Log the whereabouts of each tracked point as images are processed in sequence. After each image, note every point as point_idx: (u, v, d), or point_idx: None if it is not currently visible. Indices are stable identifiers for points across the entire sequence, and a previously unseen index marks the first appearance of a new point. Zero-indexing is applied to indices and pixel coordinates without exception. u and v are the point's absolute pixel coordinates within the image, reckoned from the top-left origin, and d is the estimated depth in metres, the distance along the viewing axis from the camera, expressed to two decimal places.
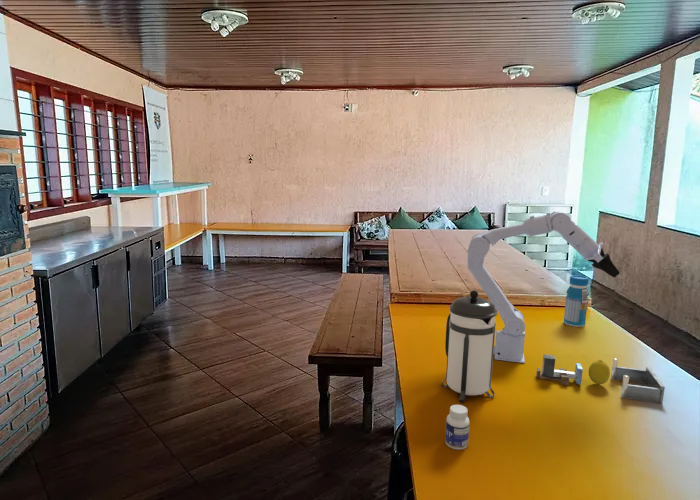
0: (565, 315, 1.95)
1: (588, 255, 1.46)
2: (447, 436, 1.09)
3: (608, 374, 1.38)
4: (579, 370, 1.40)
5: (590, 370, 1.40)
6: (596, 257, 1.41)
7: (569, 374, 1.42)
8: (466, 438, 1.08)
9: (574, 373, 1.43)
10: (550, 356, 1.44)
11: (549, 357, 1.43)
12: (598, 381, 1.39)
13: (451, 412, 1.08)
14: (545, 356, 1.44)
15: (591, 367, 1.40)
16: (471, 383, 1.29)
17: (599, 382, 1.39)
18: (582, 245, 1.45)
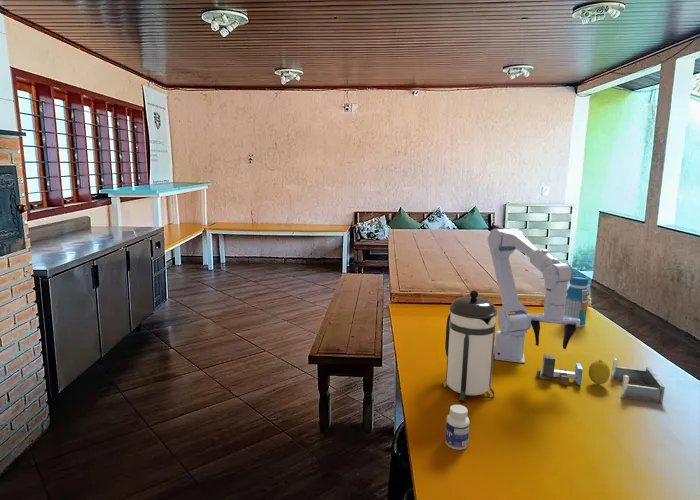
0: (565, 315, 1.95)
1: None
2: (447, 436, 1.09)
3: (608, 374, 1.38)
4: (579, 370, 1.40)
5: (590, 370, 1.40)
6: (527, 315, 1.44)
7: (569, 374, 1.42)
8: (466, 438, 1.08)
9: (574, 373, 1.43)
10: (550, 356, 1.44)
11: (549, 357, 1.43)
12: (598, 381, 1.39)
13: (451, 412, 1.08)
14: (545, 356, 1.44)
15: (591, 367, 1.40)
16: (471, 383, 1.29)
17: (599, 382, 1.39)
18: (544, 303, 1.42)
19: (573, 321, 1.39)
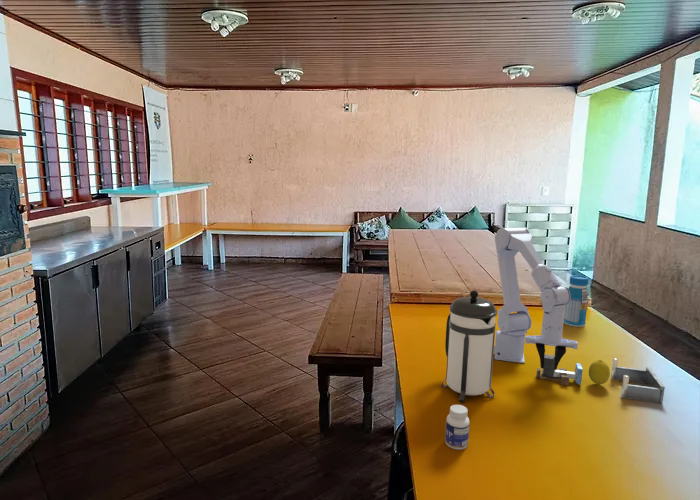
0: (565, 315, 1.95)
1: None
2: (447, 436, 1.09)
3: (608, 374, 1.38)
4: (579, 370, 1.40)
5: (590, 370, 1.40)
6: (525, 337, 1.45)
7: (569, 374, 1.42)
8: (466, 438, 1.08)
9: (574, 373, 1.43)
10: (550, 356, 1.44)
11: (549, 357, 1.43)
12: (598, 381, 1.39)
13: (451, 412, 1.08)
14: (545, 356, 1.44)
15: (591, 367, 1.40)
16: (471, 383, 1.29)
17: (599, 382, 1.39)
18: (542, 325, 1.44)
19: (570, 344, 1.40)
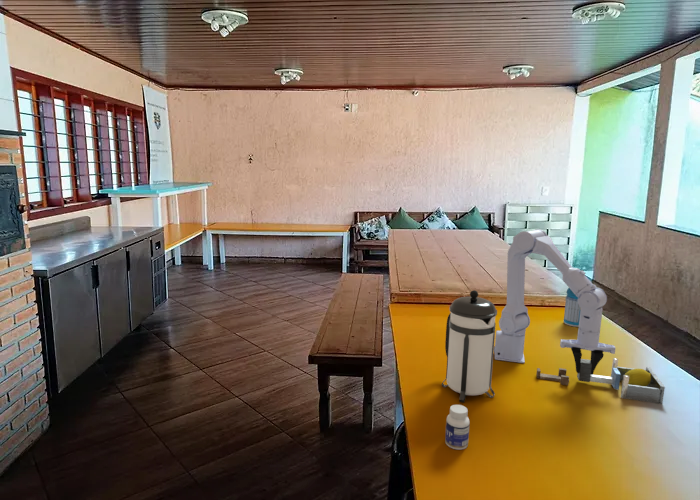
0: (565, 315, 1.95)
1: None
2: (447, 436, 1.09)
3: None
4: (617, 375, 1.37)
5: (636, 371, 1.37)
6: (560, 341, 1.43)
7: (606, 379, 1.40)
8: (466, 438, 1.08)
9: (611, 378, 1.40)
10: (587, 361, 1.41)
11: (585, 362, 1.41)
12: (632, 383, 1.36)
13: (451, 412, 1.08)
14: (581, 360, 1.41)
15: (639, 370, 1.37)
16: (471, 383, 1.29)
17: (631, 384, 1.37)
18: (578, 329, 1.41)
19: (608, 348, 1.38)
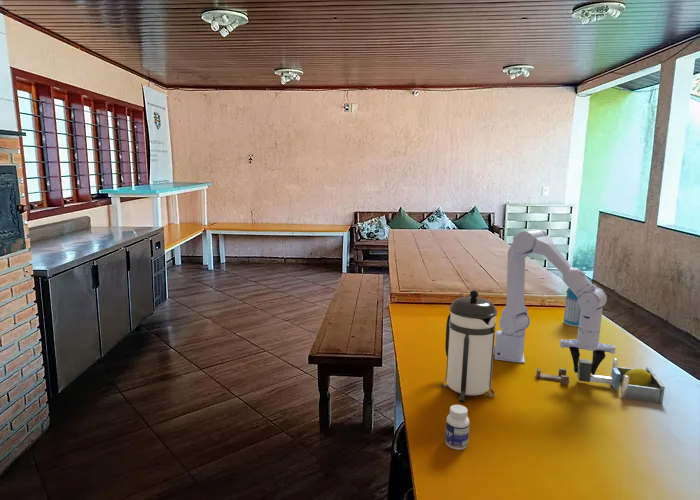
0: (565, 315, 1.95)
1: None
2: (447, 436, 1.09)
3: None
4: (617, 375, 1.37)
5: (636, 371, 1.37)
6: (560, 341, 1.43)
7: (606, 379, 1.40)
8: (466, 438, 1.08)
9: (611, 378, 1.40)
10: (587, 361, 1.41)
11: (585, 362, 1.41)
12: (632, 383, 1.36)
13: (451, 412, 1.08)
14: (581, 360, 1.41)
15: (639, 370, 1.37)
16: (471, 383, 1.29)
17: (631, 384, 1.37)
18: (578, 329, 1.41)
19: (608, 348, 1.38)
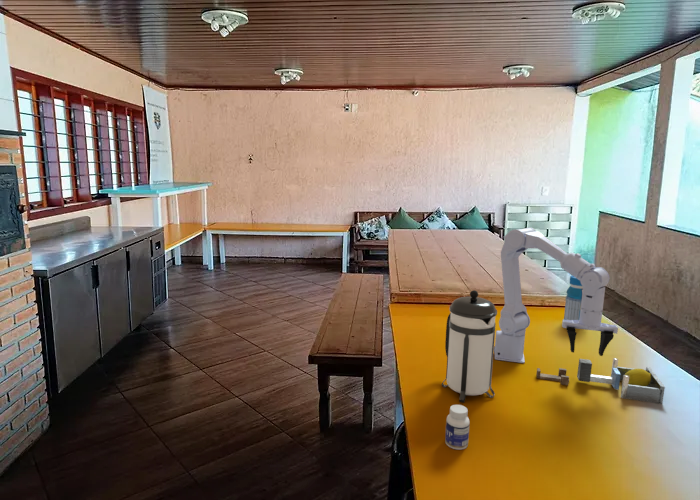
0: (565, 315, 1.95)
1: None
2: (447, 436, 1.09)
3: None
4: (617, 375, 1.37)
5: (636, 371, 1.37)
6: (562, 321, 1.41)
7: (606, 379, 1.40)
8: (466, 438, 1.08)
9: (611, 378, 1.40)
10: (587, 361, 1.41)
11: (585, 362, 1.41)
12: (632, 383, 1.36)
13: (451, 412, 1.08)
14: (581, 360, 1.41)
15: (639, 370, 1.37)
16: (471, 383, 1.29)
17: (631, 384, 1.37)
18: None
19: (610, 328, 1.36)
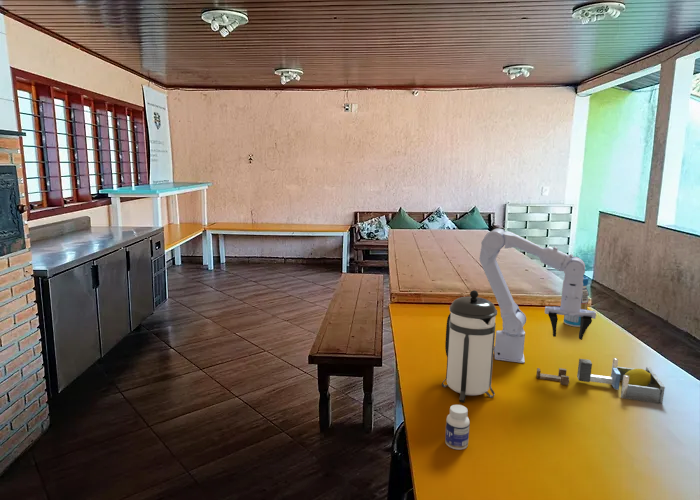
0: (565, 315, 1.95)
1: None
2: (447, 436, 1.09)
3: None
4: (617, 375, 1.37)
5: (636, 371, 1.37)
6: (545, 308, 1.52)
7: (606, 379, 1.40)
8: (466, 438, 1.08)
9: (611, 378, 1.40)
10: (587, 361, 1.41)
11: (585, 362, 1.41)
12: (632, 383, 1.36)
13: (451, 412, 1.08)
14: (581, 360, 1.41)
15: (639, 370, 1.37)
16: (471, 383, 1.29)
17: (631, 384, 1.37)
18: None
19: (589, 313, 1.47)
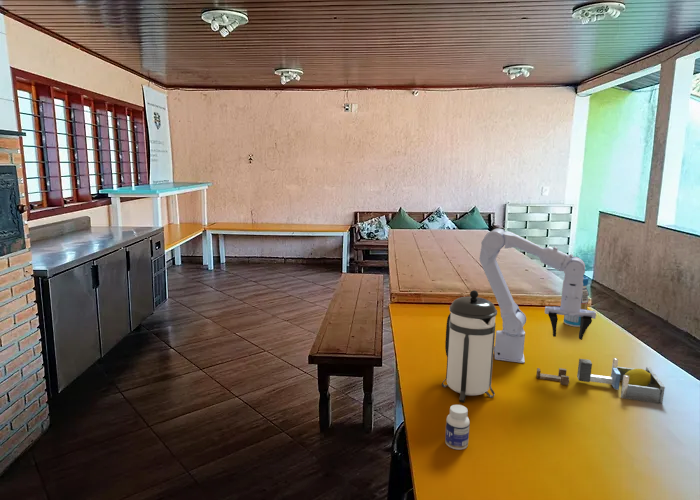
0: (565, 315, 1.95)
1: None
2: (447, 436, 1.09)
3: None
4: (617, 375, 1.37)
5: (636, 371, 1.37)
6: (545, 308, 1.52)
7: (606, 379, 1.40)
8: (466, 438, 1.08)
9: (611, 378, 1.40)
10: (587, 361, 1.41)
11: (585, 362, 1.41)
12: (632, 383, 1.36)
13: (451, 412, 1.08)
14: (581, 360, 1.41)
15: (639, 370, 1.37)
16: (471, 383, 1.29)
17: (631, 384, 1.37)
18: None
19: (589, 313, 1.47)
